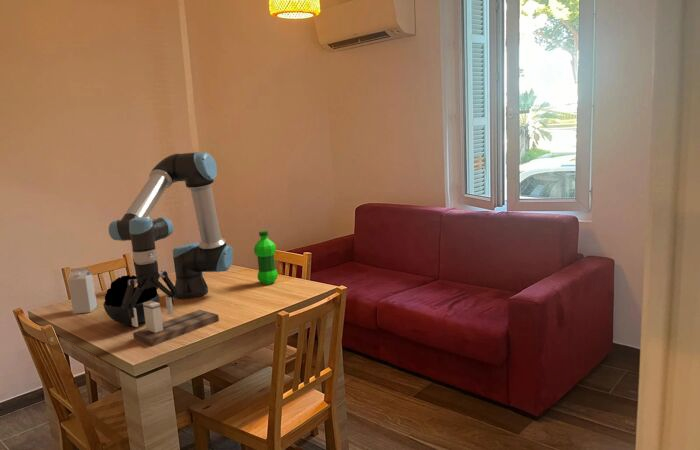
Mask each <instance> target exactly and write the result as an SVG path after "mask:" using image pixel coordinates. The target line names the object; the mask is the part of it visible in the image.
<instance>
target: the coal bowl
mask: <svg viewBox="0 0 700 450" xmlns="http://www.w3.org/2000/svg"><path fill="white" fill-rule="evenodd" d="M128 279H131V280H133V279H136V275H131V276H130V274H126V275H122V276H120V277H118V278H116V279H115V280H113V281H112V282H111V283H110V287H109V288H108V289H106V293H105V295H104V302H103V309H104V311H105V313H106V314H107V316H108V317H109V318H110V319H111V320H112V321H114V322H115V323H117V324H121V325H124V326H132V319H131V318H129V315H128V309H125V308H122V307H121V305H122V302H123V299H124V296H125V293H126V289H127V286H128V284H127V281H128ZM136 287H137V286H136V285H135V286H134V290H133V293H132V296H133V294H134V292H135V290H136ZM157 289H158V288H157ZM157 289H156V287H150V288H149V289H144V291H143V292H142V293H141V295H140V297H139V299H138V300H137V302H136V304H135V306H134V308H136V312H137V320H138V325H139V324H142V323H144V322H145V315H144V308H143V303H144V302H148V301H154V302H157V303H160V294H159V293H158V290H157Z"/></svg>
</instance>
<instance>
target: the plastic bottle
mask: <svg viewBox="0 0 700 450" xmlns="http://www.w3.org/2000/svg"><path fill="white" fill-rule="evenodd" d="M258 234H259V237H260V239H259V240H258V241H257V242H256V243H255V244H254V248H253V252H254V255H256V256H257V264H258V273H257V279H258V281H259V282H260V283H262V284H263V285H272V284H274V282H275V281H276V280H277V279H278V276H279V275H278V274H279V273H278V270H277V268H276V264H275V263H276V262H275V254H276V253H277V252H276V250H277V247H276V244H275V242H273V241H272V240H271V239H269V238H268V236H269V230H262V231H261V230H259V231H258Z"/></svg>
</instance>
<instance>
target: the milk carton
mask: <svg viewBox="0 0 700 450" xmlns="http://www.w3.org/2000/svg"><path fill="white" fill-rule="evenodd" d="M69 270H70V272H69V274H68V275H69V276H68V279H67V281H68V283H67V284H68V289H69V294H70V299H71V300H70V301H71V307H72V314H74V315H75V314H85V313H91V312H93V311H95V309H96V308H98V303H97V297H96V291H95V284H94V277H93V273H92V272H91V271H90V270H89V268H88V267H87V266H86V267H84V266H83V267H75V268H74V267H71V268H70V269H69Z"/></svg>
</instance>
